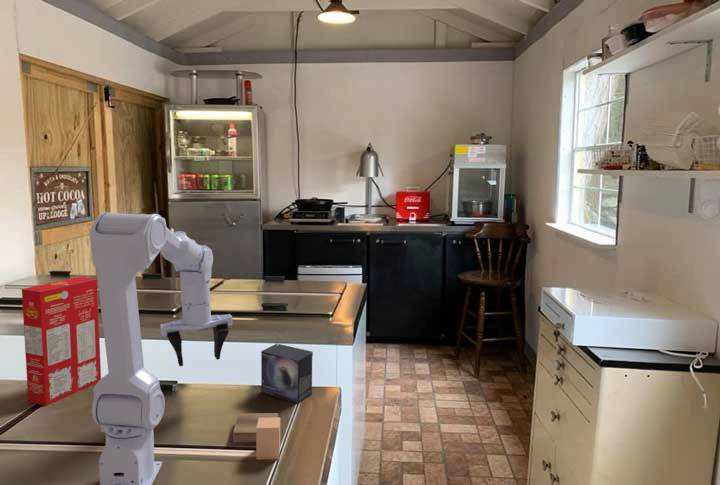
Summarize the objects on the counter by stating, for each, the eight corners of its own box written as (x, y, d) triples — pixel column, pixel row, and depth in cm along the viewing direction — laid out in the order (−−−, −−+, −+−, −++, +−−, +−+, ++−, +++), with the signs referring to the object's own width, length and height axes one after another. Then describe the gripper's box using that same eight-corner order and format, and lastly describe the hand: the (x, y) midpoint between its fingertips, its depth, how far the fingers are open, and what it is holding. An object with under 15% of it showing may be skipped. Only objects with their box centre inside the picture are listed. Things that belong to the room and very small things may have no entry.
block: (278, 459, 96) (279, 427, 95) (256, 459, 95) (256, 428, 95) (280, 447, 100) (280, 417, 99) (258, 448, 99) (258, 417, 98)
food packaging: (84, 377, 129) (80, 276, 126) (101, 381, 128) (97, 278, 124) (28, 401, 116) (21, 289, 112) (46, 405, 114) (39, 291, 111)
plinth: (275, 442, 102) (275, 432, 101) (232, 442, 101) (232, 432, 101) (278, 422, 109) (278, 413, 109) (238, 422, 109) (238, 413, 108)
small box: (259, 394, 123) (259, 350, 121) (276, 384, 129) (276, 342, 127) (297, 404, 118) (297, 359, 117) (313, 394, 124) (313, 350, 122)
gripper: (226, 291, 118) (228, 347, 121) (156, 299, 112) (161, 359, 115) (234, 300, 112) (236, 360, 115) (161, 310, 106) (165, 373, 109)
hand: (199, 360), depth 114 cm, fingers open, 7 cm apart
